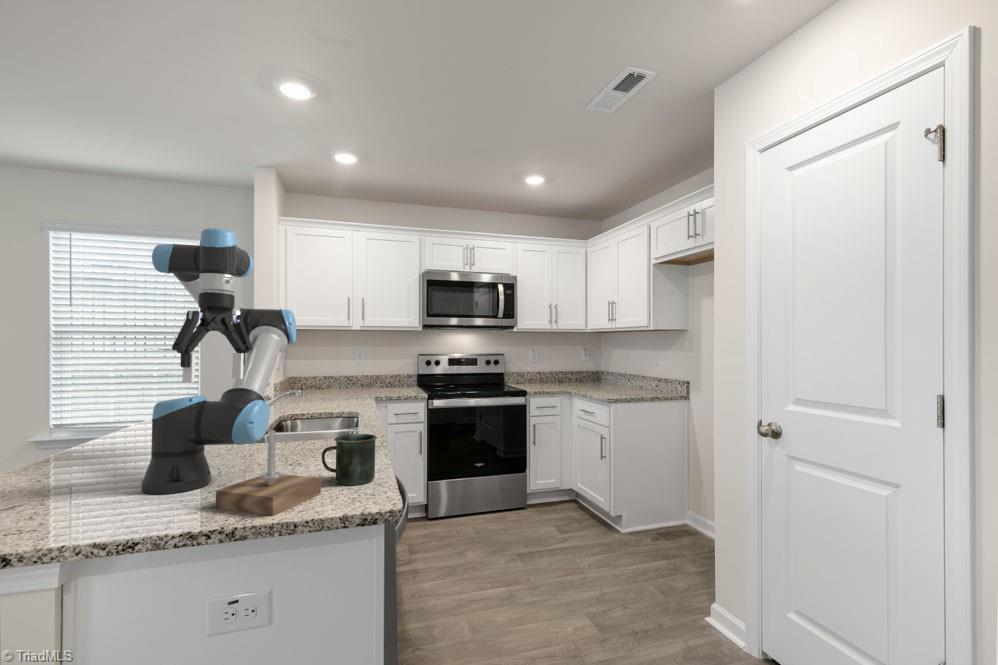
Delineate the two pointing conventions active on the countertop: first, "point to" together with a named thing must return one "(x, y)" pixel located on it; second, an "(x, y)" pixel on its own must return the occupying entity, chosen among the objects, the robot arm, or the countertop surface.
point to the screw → (271, 462)
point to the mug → (353, 459)
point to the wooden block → (268, 494)
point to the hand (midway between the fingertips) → (214, 380)
